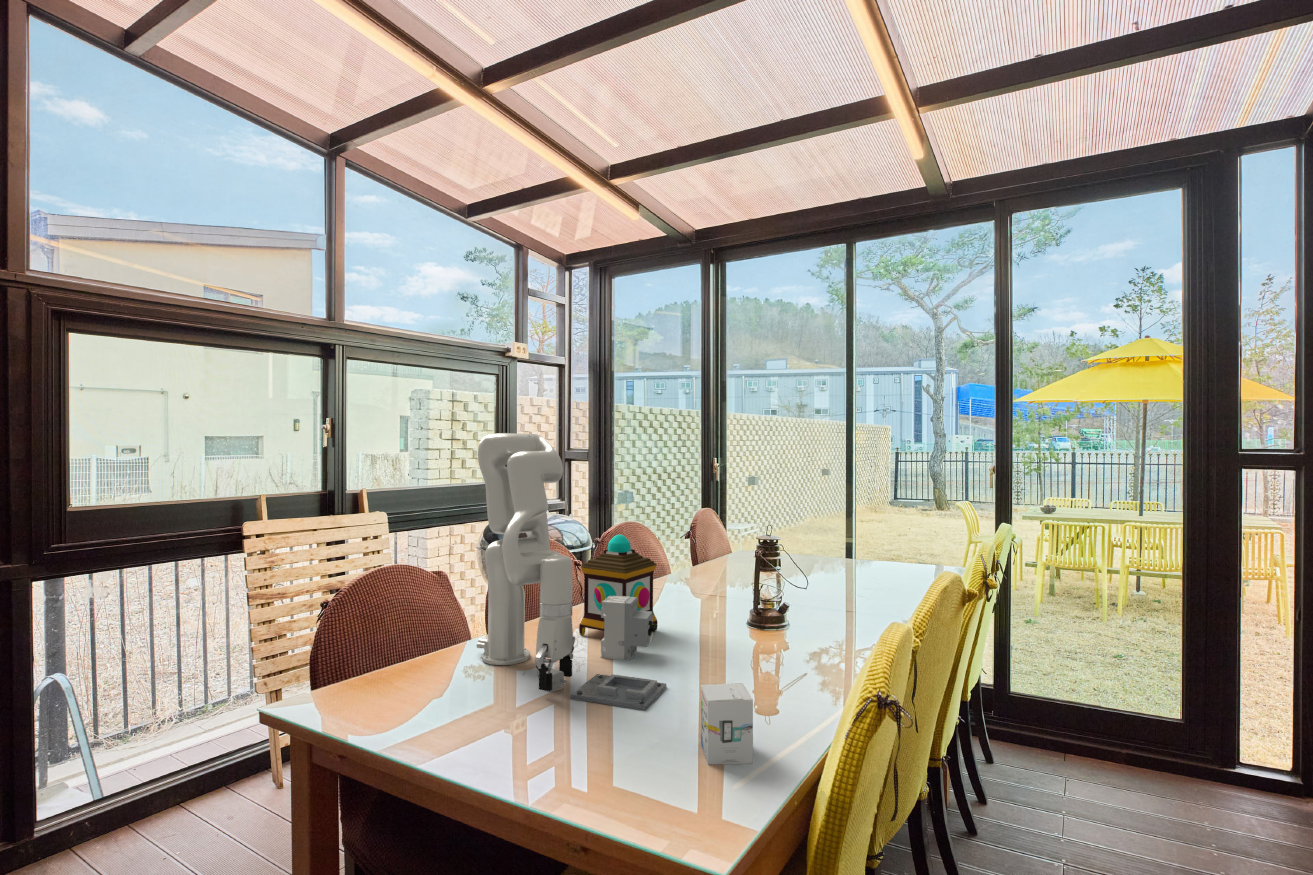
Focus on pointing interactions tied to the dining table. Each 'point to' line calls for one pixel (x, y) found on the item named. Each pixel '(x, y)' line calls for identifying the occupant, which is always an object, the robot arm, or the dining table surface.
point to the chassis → (620, 691)
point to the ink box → (726, 724)
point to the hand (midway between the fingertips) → (555, 682)
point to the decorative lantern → (616, 581)
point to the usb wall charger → (557, 679)
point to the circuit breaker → (624, 627)
